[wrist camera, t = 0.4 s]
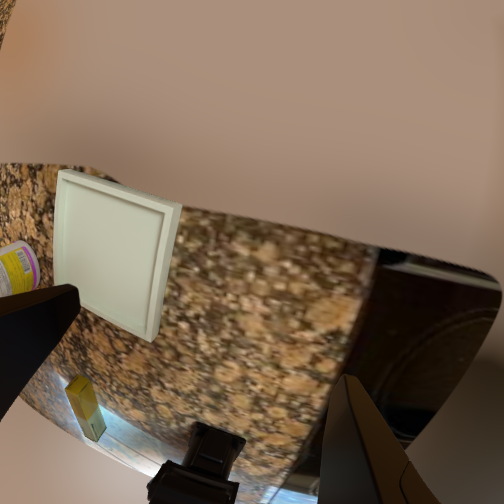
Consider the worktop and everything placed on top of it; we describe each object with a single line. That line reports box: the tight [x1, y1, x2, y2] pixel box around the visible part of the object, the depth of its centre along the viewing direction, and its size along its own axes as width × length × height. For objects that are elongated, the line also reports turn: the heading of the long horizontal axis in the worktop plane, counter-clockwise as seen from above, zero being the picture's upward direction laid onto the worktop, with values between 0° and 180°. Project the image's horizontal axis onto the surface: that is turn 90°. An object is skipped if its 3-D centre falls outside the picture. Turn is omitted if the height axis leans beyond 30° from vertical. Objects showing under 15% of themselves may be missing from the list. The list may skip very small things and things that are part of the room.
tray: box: [53, 169, 182, 343], centre depth 25 cm, size 13×13×2 cm
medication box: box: [65, 374, 107, 442], centre depth 33 cm, size 12×3×4 cm, turn 173°
